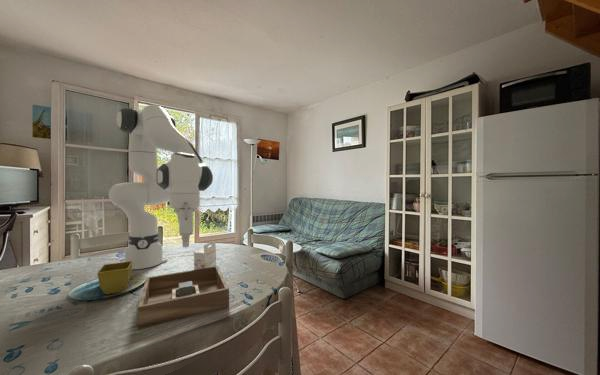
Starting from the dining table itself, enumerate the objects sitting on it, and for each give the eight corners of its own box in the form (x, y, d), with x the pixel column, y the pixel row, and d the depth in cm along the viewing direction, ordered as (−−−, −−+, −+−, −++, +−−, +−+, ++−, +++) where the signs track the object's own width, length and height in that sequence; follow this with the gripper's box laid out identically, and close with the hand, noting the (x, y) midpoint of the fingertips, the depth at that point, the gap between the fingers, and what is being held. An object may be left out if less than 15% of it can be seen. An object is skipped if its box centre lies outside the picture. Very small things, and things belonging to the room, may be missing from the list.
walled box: (146, 294, 83) (146, 277, 83) (217, 280, 94) (217, 266, 94) (138, 329, 64) (137, 307, 64) (229, 307, 75) (229, 288, 75)
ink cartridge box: (206, 272, 102) (206, 239, 102) (216, 273, 102) (216, 239, 101) (193, 281, 94) (193, 244, 94) (204, 282, 93) (204, 245, 93)
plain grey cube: (179, 296, 80) (178, 283, 80) (191, 293, 82) (191, 280, 82) (179, 301, 76) (179, 288, 76) (192, 298, 78) (192, 285, 78)
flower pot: (97, 298, 80) (96, 272, 79) (104, 288, 87) (103, 264, 87) (128, 293, 84) (128, 268, 83) (133, 283, 91) (132, 260, 91)
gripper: (198, 204, 70) (198, 250, 71) (193, 198, 88) (193, 235, 89) (174, 205, 67) (174, 253, 68) (174, 199, 85) (174, 237, 86)
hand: (185, 242), depth 78 cm, fingers open, 8 cm apart
